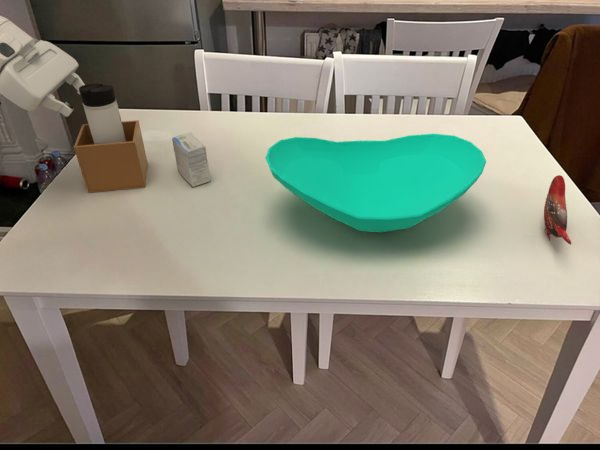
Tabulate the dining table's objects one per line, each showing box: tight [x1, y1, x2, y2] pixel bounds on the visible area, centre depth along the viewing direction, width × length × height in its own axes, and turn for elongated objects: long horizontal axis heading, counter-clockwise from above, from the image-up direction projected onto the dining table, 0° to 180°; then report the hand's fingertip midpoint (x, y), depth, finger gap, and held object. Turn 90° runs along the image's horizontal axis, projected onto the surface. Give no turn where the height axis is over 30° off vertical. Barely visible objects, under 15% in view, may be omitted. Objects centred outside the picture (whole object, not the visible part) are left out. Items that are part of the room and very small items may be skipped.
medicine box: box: [171, 132, 211, 188], centre depth 99 cm, size 8×4×9 cm, turn 34°
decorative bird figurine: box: [543, 174, 572, 245], centre depth 82 cm, size 3×18×10 cm, turn 166°
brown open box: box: [73, 119, 149, 194], centre depth 98 cm, size 12×10×11 cm
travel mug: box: [79, 83, 126, 144], centre depth 95 cm, size 6×7×20 cm
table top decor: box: [265, 133, 487, 233], centre depth 87 cm, size 40×28×13 cm
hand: (80, 103), depth 90 cm, fingers open, 8 cm apart
